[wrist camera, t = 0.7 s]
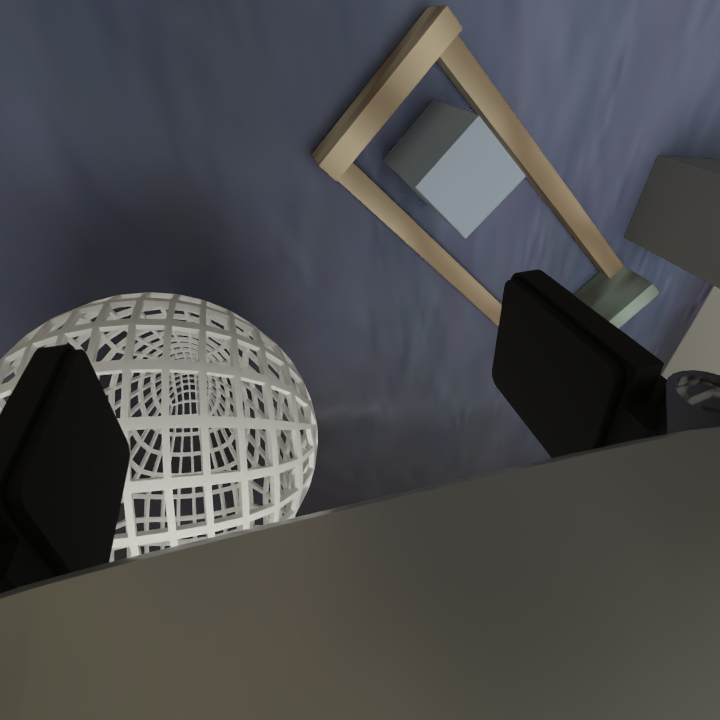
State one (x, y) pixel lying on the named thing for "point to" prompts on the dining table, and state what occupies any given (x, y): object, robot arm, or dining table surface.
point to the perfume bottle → (681, 215)
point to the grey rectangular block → (454, 165)
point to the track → (443, 45)
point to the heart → (203, 420)
